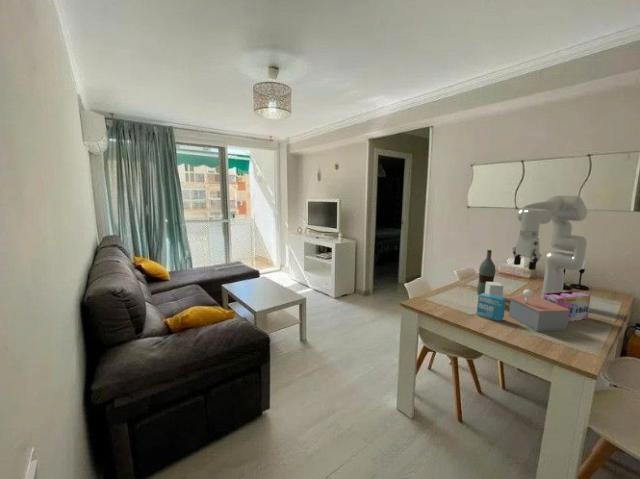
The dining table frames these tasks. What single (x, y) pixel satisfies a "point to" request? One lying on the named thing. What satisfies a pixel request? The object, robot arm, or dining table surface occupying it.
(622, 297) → the dining table surface
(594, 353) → the dining table surface
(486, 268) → the bottle
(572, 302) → the gum box
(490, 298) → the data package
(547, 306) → the lid flap
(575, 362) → the dining table surface
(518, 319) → the carton
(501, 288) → the supplement box
